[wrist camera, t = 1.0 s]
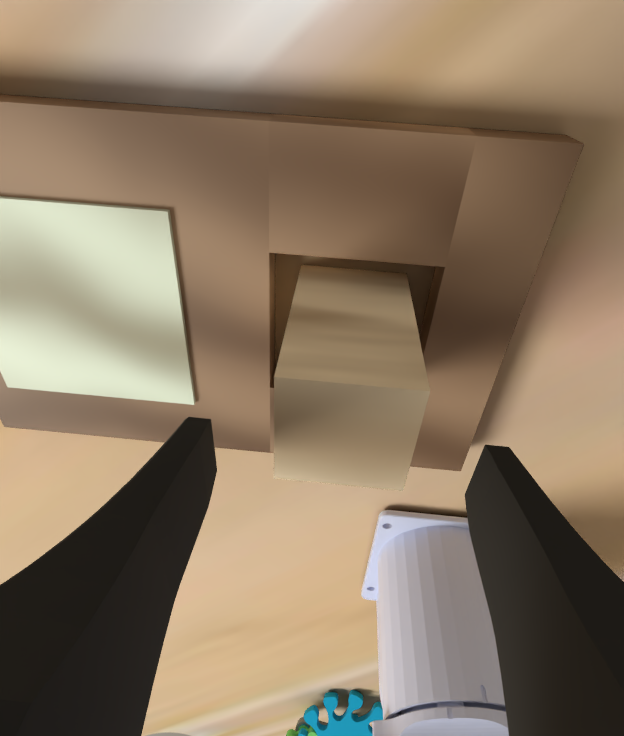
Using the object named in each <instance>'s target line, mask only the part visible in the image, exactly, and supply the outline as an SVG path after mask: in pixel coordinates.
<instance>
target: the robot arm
mask: <svg viewBox="0 0 624 736" xmlns="http://www.w3.org/2000/svg"><path fill="white" fill-rule="evenodd" d="M216 472H217V466H216V458H215V449H214V440H213V431H212V422H211V419H206V418H195V417H188V418H186V419H185V420H184V421H183V422H182V424H181V425H180V426H179V427H178V428H177V429H176V431H175V432H174V433H173V434H172V435H171V436H170V438H169V439H168V440H167V441H166V442H165V443H164V444H163V446H162V447H161V448H160V449H159V450H158V451H157V452H156V453H155V454H154V456H153V457H152V458H151V459H150V460H149V461H148V462H147V463H146V464H145V465H144V466H143V467H142V468H141V469H140V470H139V471H138V472H137V473H136V474H135V476H134V477H133V478H132V479H131V480H130V481H129V482H128V483H127V484H125V485H124V486H123V487H122V488H121V489H120V490H119V491H118V492H117V493H116V494H115V495H114V496H113V497H112V498H111V499H110V500H109V501H108V502H107V503H106V504H105V505H103V506H102V507H101V508H100V509H99V510H98V511H97V512H96V513H95V514H93V515H92V516H91V517H90V518H89V519H88V520H86V521H85V522H84V523H83V524H82V525H81V526H79V527H78V528H77V529H76V530H74V531H73V532H72V533H71V534H70V535H68V536H67V537H66V538H65V539H63V540H62V541H61V542H59V543H58V544H57V545H56V546H54V547H53V548H52V549H50V550H49V551H48V552H46V553H45V554H44V555H43V556H41V557H40V558H39V559H37V560H36V561H34V562H33V563H32V564H30V565H29V566H28V567H26V568H25V569H23V570H22V571H20V572H19V573H17V574H16V575H15V576H13V577H12V578H10V579H9V580H7V581H6V582H4V583H3V584H1V585H0V736H141V734H142V729H143V725H144V721H145V716H146V712H147V708H148V704H149V699H150V695H151V691H152V686H153V682H154V678H155V674H156V670H157V666H158V662H159V658H160V654H161V650H162V646H163V642H164V638H165V634H166V631H167V627H168V623H169V619H170V616H171V612H172V608H173V604H174V601H175V598H176V595H177V592H178V589H179V585H180V583H181V580H182V577H183V574H184V572H185V569H186V566H187V564H188V561H189V558H190V555H191V553H192V550H193V547H194V545H195V542H196V539H197V536H198V534H199V531H200V528H201V525H202V523H203V520H204V517H205V514H206V511H207V509H208V506H209V502H210V498H211V494H212V490H213V485H214V481H215V477H216ZM465 500H466V509H467V518H464V517H454V516H444V515H435V514H425V513H415V512H405V511H395V510H384V511H382V512H381V513H380V514H379V518H378V522H377V526H376V530H375V535H374V539H373V543H372V548H371V552H370V556H369V560H368V565H367V569H366V573H365V577H364V582H363V586H362V590H361V595H362V597H363V598H364V599H367V600H376V602H377V633H378V665H379V692H380V700H381V705H382V708H383V720H376V721H373V722H372V725H373V736H624V582H623V581H622V580H621V579H620V578H619V577H618V576H617V575H616V574H615V573H614V572H613V571H612V570H611V569H610V568H609V567H608V566H607V565H606V564H605V563H604V562H603V561H602V560H601V559H600V557H599V556H598V555H597V554H596V553H595V552H594V551H593V550H592V549H591V548H590V546H589V545H588V544H587V543H586V542H585V541H584V540H583V539H582V538H581V536H580V535H579V534H578V533H577V532H576V531H575V530H574V528H573V527H572V526H571V525H570V524H569V522H568V521H567V520H566V519H565V518H564V516H563V515H562V514H561V513H560V512H559V510H558V509H557V508H556V507H555V505H554V504H553V503H552V502H551V501H550V499H549V498H548V497H547V496H546V494H545V493H544V492H543V490H542V489H541V488H540V487H539V485H538V484H537V483H536V481H535V480H534V479H533V478H532V476H531V475H530V474H529V472H528V471H527V470H526V468H525V467H524V466H523V465H522V463H521V462H520V461H519V459H518V458H517V457H516V456H515V454H514V453H513V452H512V450H511V449H510V448H509V447H503V446H492V445H485V446H484V449H483V451H482V454H481V456H480V459H479V461H478V464H477V466H476V468H475V471H474V473H473V476H472V478H471V481H470V483H469V486H468V488H467V491H466V493H465Z"/></svg>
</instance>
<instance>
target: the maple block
mask: <svg viewBox="0 0 624 736" xmlns="http://www.w3.org/2000/svg"><path fill="white" fill-rule="evenodd" d="M429 394H430V388H429V383H428V378H427V373H426V368H425V363H424V358H423V353H422V348H421V343H420V338H419V333H418V328H417V323H416V318H415V313H414V308H413V303H412V298H411V293H410V288H409V283H408V278H407V274H406V273H394V272H382V271H370V270H358V269H346V268H334V267H322V266H310V265H301V268H300V272H299V276H298V281H297V285H296V289H295V293H294V297H293V301H292V305H291V309H290V313H289V318H288V322H287V326H286V330H285V334H284V338H283V342H282V346H281V351H280V355H279V359H278V363H277V367H276V371H275V375H274V479H285V480H295V481H305V482H315V483H325V484H335V485H345V486H355V487H365V488H375V489H385V490H395V491H403V490H404V486H405V482H406V479H407V475H408V471H409V468H410V464H411V460H412V457H413V453H414V449H415V446H416V442H417V438H418V435H419V431H420V427H421V424H422V420H423V416H424V413H425V409H426V405H427V402H428V398H429Z"/></svg>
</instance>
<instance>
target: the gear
mask: <svg viewBox="0 0 624 736" xmlns="http://www.w3.org/2000/svg"><path fill="white" fill-rule="evenodd" d="M323 702H324V706H325V707H326V709H327V712H328V717H329V721H328V723H326V722H322V721H319V720H318V716H319V710H318V708H317V706H316V705H312V706H310V707H309V708H308V709H307V710H306V711H305V713H304V717H302V718H300V719H299V720H298V723H297V726H296V731H295V730H293V729H290V730H289V731H288V732H287V734H286V736H373V728H372V727H371V726H370V725H369V723H370V722H372V721H376V720H383V708H382V705H381V703H380V702H376V703H374V705H373V707H372V709H371V710H370V711H369V712H368V713H367V714H365V715H363V716H360V717H358V715H357V714H353V713H352V712H353V711H354V710H356V709H359V708H360V707H361V706H362V704H363V695H362V694H361V693H359V692H358V691H355V690H351V691H350V693H349V699H348V702H349V705H348V708H347V710H346V711H345V713H344V714H343V715H341V716H338V715H336V714H335V713H334V710H335V708H336V707H337V704H338V694H337V693H335V692H328V693H325V696H324V700H323Z"/></svg>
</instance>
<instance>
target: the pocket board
mask: <svg viewBox="0 0 624 736" xmlns="http://www.w3.org/2000/svg"><path fill="white" fill-rule="evenodd" d="M583 146H584V144H583V143H581V142H579V141H577V140H575V139H573V138H571V137H569V136H567V135H560V134H546V133H532V132H518V131H504V130H491V129H477V128H463V127H449V126H435V125H421V124H407V123H393V122H379V121H365V120H351V119H337V118H323V117H309V116H296V115H282V114H268V113H254V112H240V111H226V110H212V109H198V108H184V107H170V106H156V105H142V104H128V103H115V102H101V101H87V100H73V99H59V98H45V97H31V96H17V95H3V94H0V419H1V421H2V423H3V425H4V427H11V428H22V429H32V430H42V431H52V432H63V433H73V434H83V435H94V436H104V437H114V438H124V439H135V440H145V441H155V442H166V441H167V440H168V439H169V438H170V436H171V435H172V434H173V433H174V432H175V431H176V429H177V428H178V427H179V426H180V425H181V424H182V422H183V421H184V420H185V419H186V418H188V417H195V418H206V419H211V422H212V431H213V440H214V447H217V448H227V449H237V450H248V451H258V452H268V453H274V375H275V371H276V368H275V253H281V254H293V255H305V256H317V257H329V258H341V259H354V260H366V261H378V262H390V263H402V264H414V265H426V266H436V267H435V271H434V276H433V280H432V284H431V289H430V293H429V297H428V302H427V306H426V310H425V315H424V319H423V323H422V327H421V332H420V336H419V338H420V343H421V348H422V353H423V358H424V363H425V368H426V373H427V378H428V383H429V388H430V394H429V398H428V402H427V405H426V409H425V413H424V416H423V420H422V424H421V427H420V431H419V435H418V438H417V442H416V446H415V449H414V453H413V457H412V460H411V464H410V466H412V467H422V468H432V469H443V470H453V471H461V469H462V467H463V464H464V461H465V459H466V456H467V453H468V451H469V448H470V445H471V443H472V440H473V437H474V435H475V432H476V429H477V427H478V424H479V421H480V419H481V416H482V413H483V411H484V408H485V406H486V403H487V400H488V398H489V395H490V392H491V390H492V387H493V384H494V382H495V379H496V376H497V374H498V371H499V368H500V366H501V363H502V360H503V358H504V355H505V352H506V350H507V347H508V345H509V342H510V339H511V337H512V334H513V331H514V329H515V326H516V323H517V321H518V318H519V315H520V313H521V310H522V307H523V305H524V302H525V299H526V297H527V294H528V292H529V289H530V286H531V284H532V281H533V278H534V276H535V273H536V270H537V268H538V265H539V262H540V260H541V257H542V254H543V252H544V249H545V246H546V244H547V241H548V238H549V236H550V233H551V231H552V228H553V225H554V223H555V220H556V217H557V215H558V212H559V209H560V207H561V204H562V201H563V199H564V196H565V193H566V191H567V188H568V185H569V183H570V180H571V177H572V175H573V172H574V170H575V167H576V164H577V162H578V159H579V156H580V154H581V151H582V148H583Z"/></svg>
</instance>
